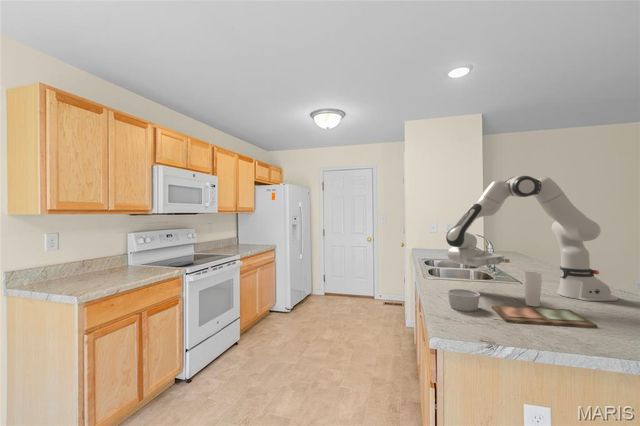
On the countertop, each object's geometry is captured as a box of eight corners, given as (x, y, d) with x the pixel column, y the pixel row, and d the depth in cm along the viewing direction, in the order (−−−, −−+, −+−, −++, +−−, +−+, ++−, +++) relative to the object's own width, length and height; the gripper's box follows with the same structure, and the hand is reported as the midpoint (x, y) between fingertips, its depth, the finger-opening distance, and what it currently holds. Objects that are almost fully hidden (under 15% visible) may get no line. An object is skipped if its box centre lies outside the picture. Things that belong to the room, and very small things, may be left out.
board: (569, 311, 127) (569, 308, 127) (597, 327, 110) (597, 324, 110) (491, 307, 135) (491, 304, 135) (505, 322, 117) (505, 318, 117)
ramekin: (483, 307, 136) (483, 291, 136) (475, 314, 126) (474, 298, 126) (453, 301, 145) (453, 287, 145) (443, 308, 135) (443, 293, 135)
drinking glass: (545, 308, 133) (544, 274, 133) (528, 307, 134) (527, 274, 134) (537, 303, 139) (536, 271, 139) (521, 302, 141) (520, 271, 141)
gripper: (465, 253, 154) (492, 257, 142) (487, 251, 164) (514, 253, 152) (465, 266, 154) (492, 270, 142) (487, 262, 164) (514, 266, 152)
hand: (504, 261), depth 147 cm, fingers open, 8 cm apart
